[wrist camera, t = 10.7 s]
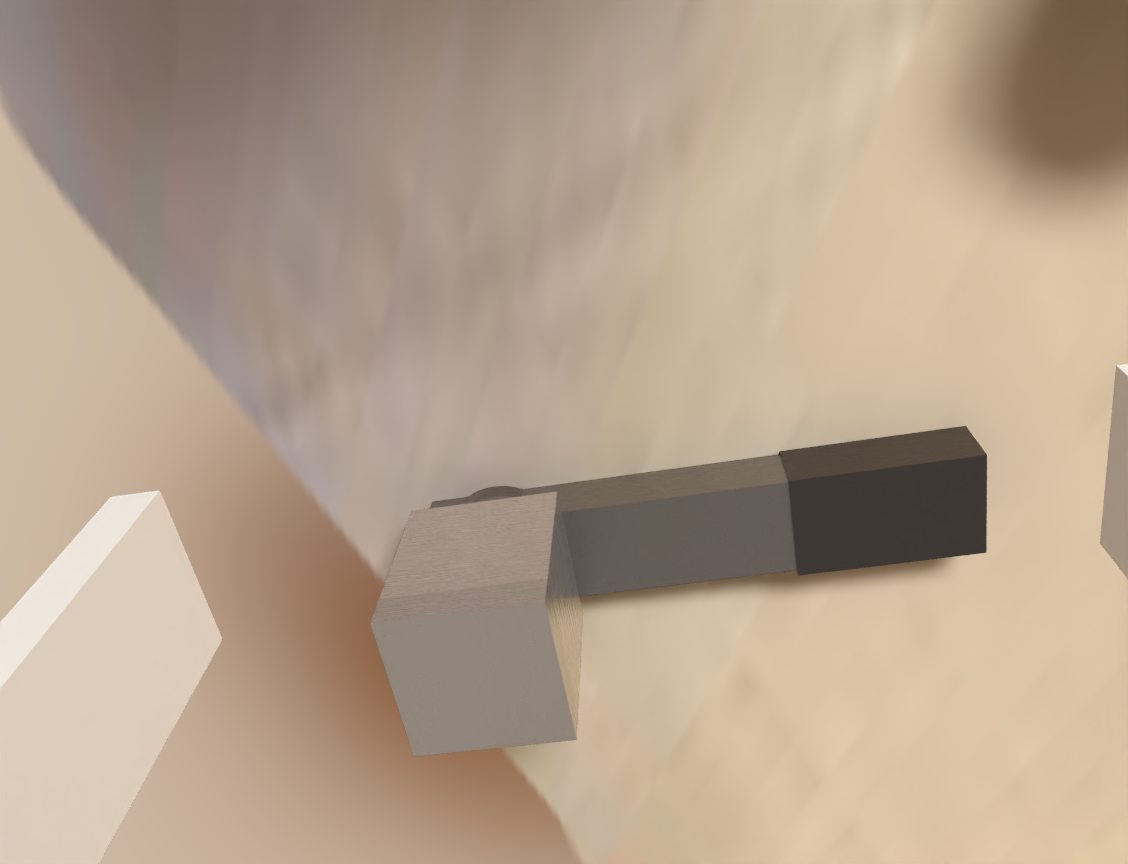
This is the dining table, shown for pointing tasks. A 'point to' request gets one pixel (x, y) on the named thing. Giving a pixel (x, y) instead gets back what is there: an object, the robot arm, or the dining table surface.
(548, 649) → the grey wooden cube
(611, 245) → the dining table surface
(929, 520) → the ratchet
